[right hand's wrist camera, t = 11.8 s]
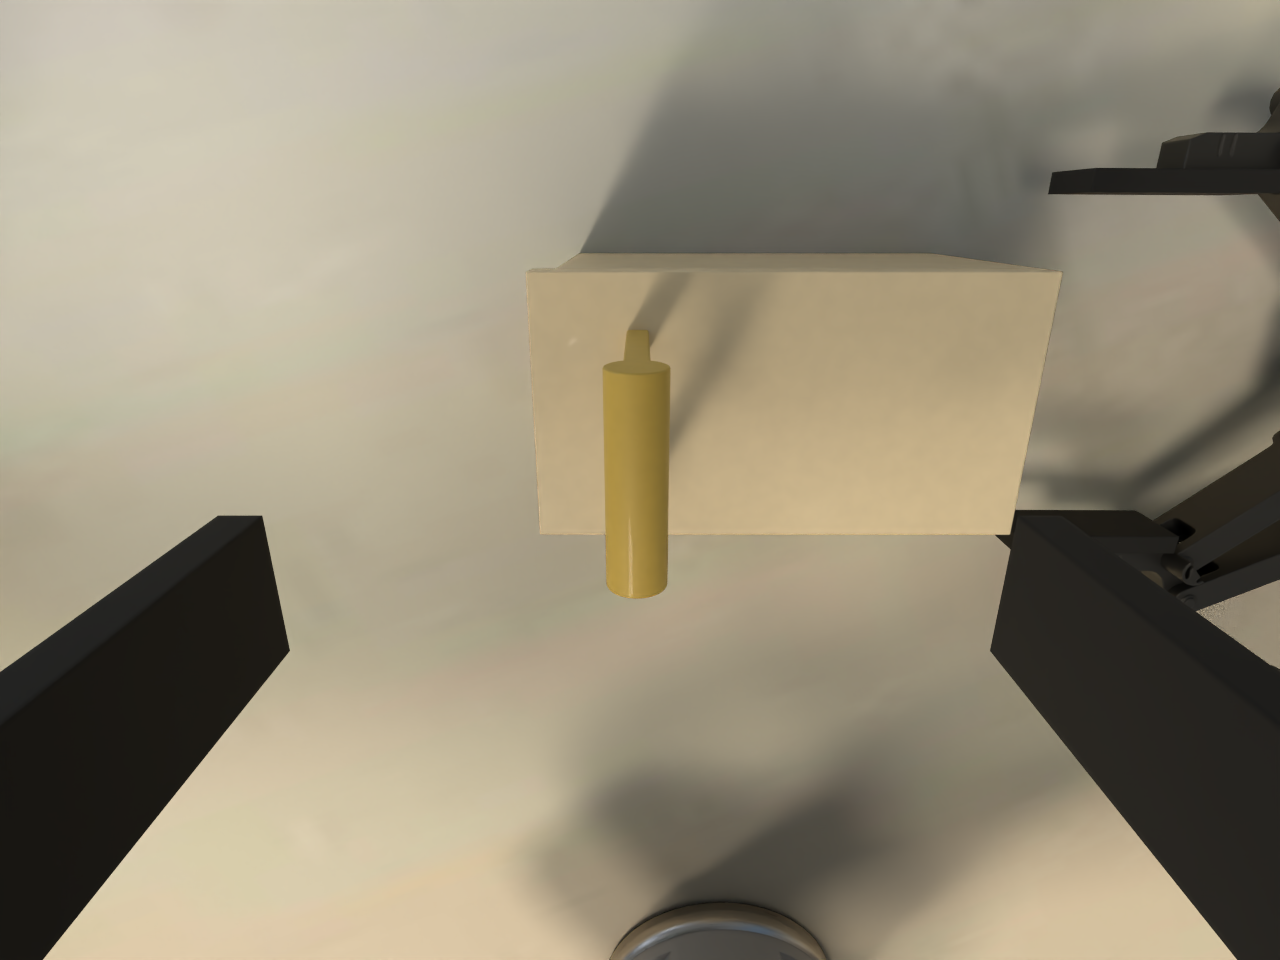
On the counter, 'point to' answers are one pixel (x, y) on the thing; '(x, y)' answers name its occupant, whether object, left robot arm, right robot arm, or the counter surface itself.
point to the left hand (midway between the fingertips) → (1031, 371)
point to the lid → (781, 403)
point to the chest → (778, 261)
